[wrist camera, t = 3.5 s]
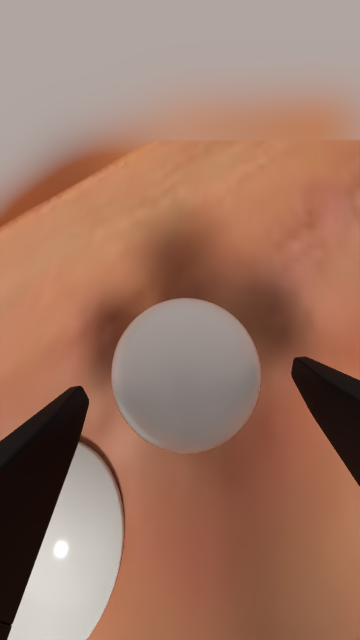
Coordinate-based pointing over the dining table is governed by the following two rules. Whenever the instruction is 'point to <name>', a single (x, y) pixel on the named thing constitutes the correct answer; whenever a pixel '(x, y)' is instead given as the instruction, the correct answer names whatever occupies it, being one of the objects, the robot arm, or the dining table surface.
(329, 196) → the dining table surface
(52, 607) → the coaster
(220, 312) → the lightbulb
